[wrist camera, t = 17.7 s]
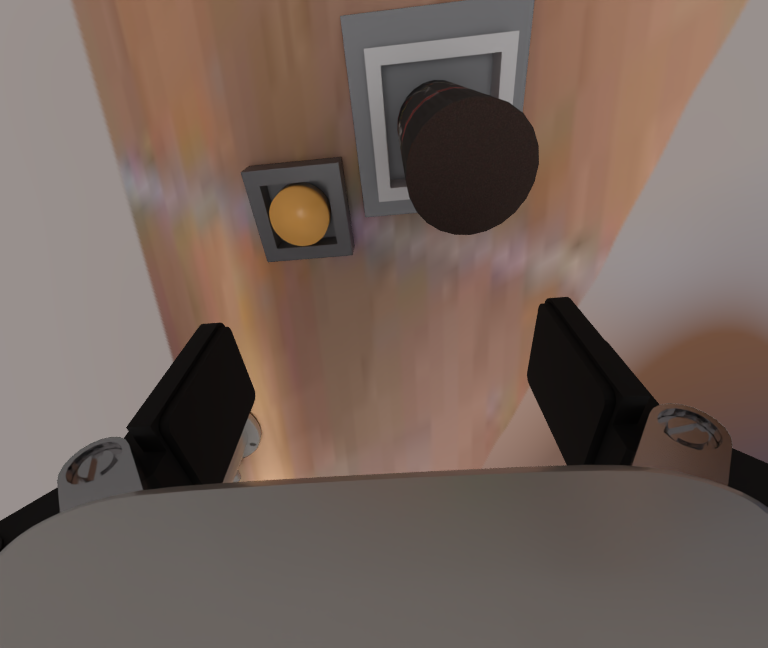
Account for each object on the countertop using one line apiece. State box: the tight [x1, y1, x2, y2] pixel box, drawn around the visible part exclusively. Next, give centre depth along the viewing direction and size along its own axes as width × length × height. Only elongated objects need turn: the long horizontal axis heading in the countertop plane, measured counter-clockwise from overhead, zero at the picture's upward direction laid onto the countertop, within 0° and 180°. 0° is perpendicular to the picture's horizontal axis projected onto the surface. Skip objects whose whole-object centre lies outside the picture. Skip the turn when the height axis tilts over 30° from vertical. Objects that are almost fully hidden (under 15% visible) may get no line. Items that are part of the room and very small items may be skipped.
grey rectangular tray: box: [340, 0, 534, 217], centre depth 28 cm, size 14×13×4 cm
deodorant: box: [397, 80, 539, 235], centre depth 23 cm, size 6×6×15 cm
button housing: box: [241, 157, 354, 262], centre depth 33 cm, size 8×8×2 cm
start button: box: [269, 182, 331, 246], centre depth 32 cm, size 5×5×2 cm
